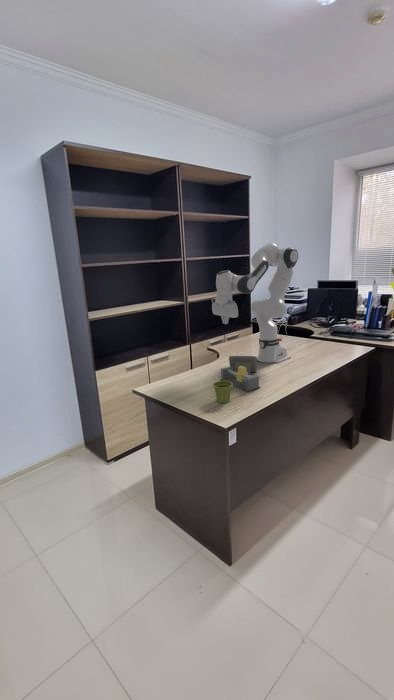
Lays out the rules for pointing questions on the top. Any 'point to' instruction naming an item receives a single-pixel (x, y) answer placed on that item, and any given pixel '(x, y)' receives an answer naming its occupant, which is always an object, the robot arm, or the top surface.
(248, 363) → the digital clock
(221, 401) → the plant pot
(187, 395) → the top surface
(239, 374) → the yellow stepped block
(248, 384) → the grey rectangular frame
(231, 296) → the robot arm
